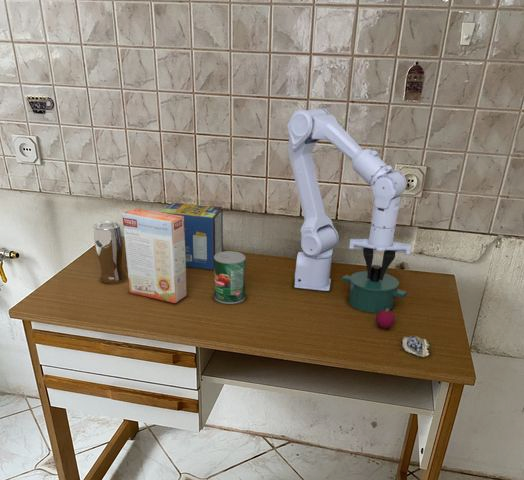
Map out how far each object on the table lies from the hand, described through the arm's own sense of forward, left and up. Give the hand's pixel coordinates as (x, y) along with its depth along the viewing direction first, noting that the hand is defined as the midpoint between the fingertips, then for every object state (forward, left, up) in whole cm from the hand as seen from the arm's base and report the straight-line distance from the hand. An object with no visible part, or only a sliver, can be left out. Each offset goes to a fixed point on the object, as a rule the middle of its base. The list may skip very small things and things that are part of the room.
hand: (374, 278), depth 130 cm
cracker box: (-54, -9, -7) cm, 55 cm away
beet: (+3, -13, -5) cm, 14 cm away
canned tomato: (-36, -6, -7) cm, 37 cm away
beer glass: (-69, -3, -7) cm, 69 cm away
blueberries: (+10, -21, -7) cm, 24 cm away
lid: (0, 0, -1) cm, 1 cm away
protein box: (-52, +16, -7) cm, 55 cm away
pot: (0, 0, -7) cm, 7 cm away
